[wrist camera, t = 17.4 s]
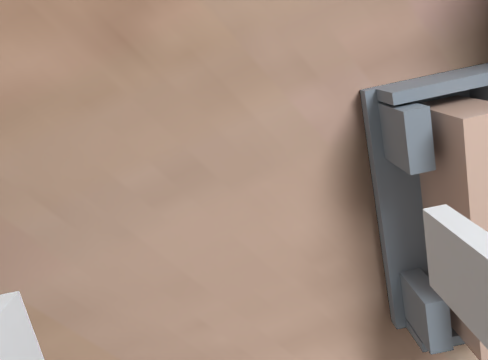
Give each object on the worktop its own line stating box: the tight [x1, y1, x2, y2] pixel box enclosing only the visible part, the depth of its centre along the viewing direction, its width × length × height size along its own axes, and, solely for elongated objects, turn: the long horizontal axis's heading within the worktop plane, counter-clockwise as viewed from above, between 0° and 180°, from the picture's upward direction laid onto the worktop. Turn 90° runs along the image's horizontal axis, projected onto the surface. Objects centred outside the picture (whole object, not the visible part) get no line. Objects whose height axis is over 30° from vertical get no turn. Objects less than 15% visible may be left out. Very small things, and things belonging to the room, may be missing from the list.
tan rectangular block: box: [419, 95, 488, 360], centre depth 39 cm, size 4×20×9 cm, turn 11°
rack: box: [360, 63, 488, 354], centre depth 41 cm, size 12×24×8 cm, turn 12°
